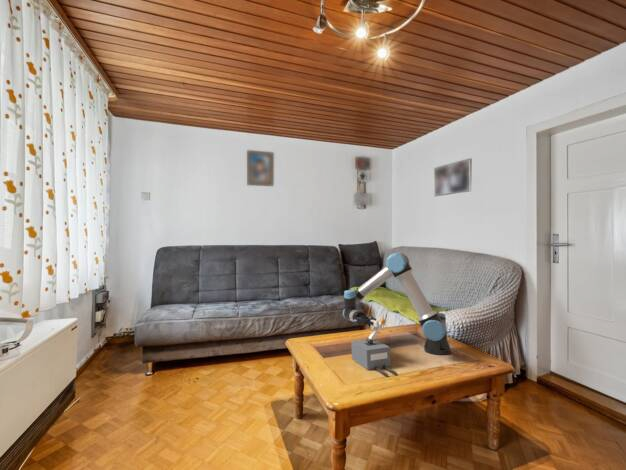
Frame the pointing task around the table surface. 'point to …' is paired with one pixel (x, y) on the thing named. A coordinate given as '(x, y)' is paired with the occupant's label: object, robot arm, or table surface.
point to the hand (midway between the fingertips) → (377, 324)
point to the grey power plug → (372, 355)
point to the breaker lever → (375, 331)
